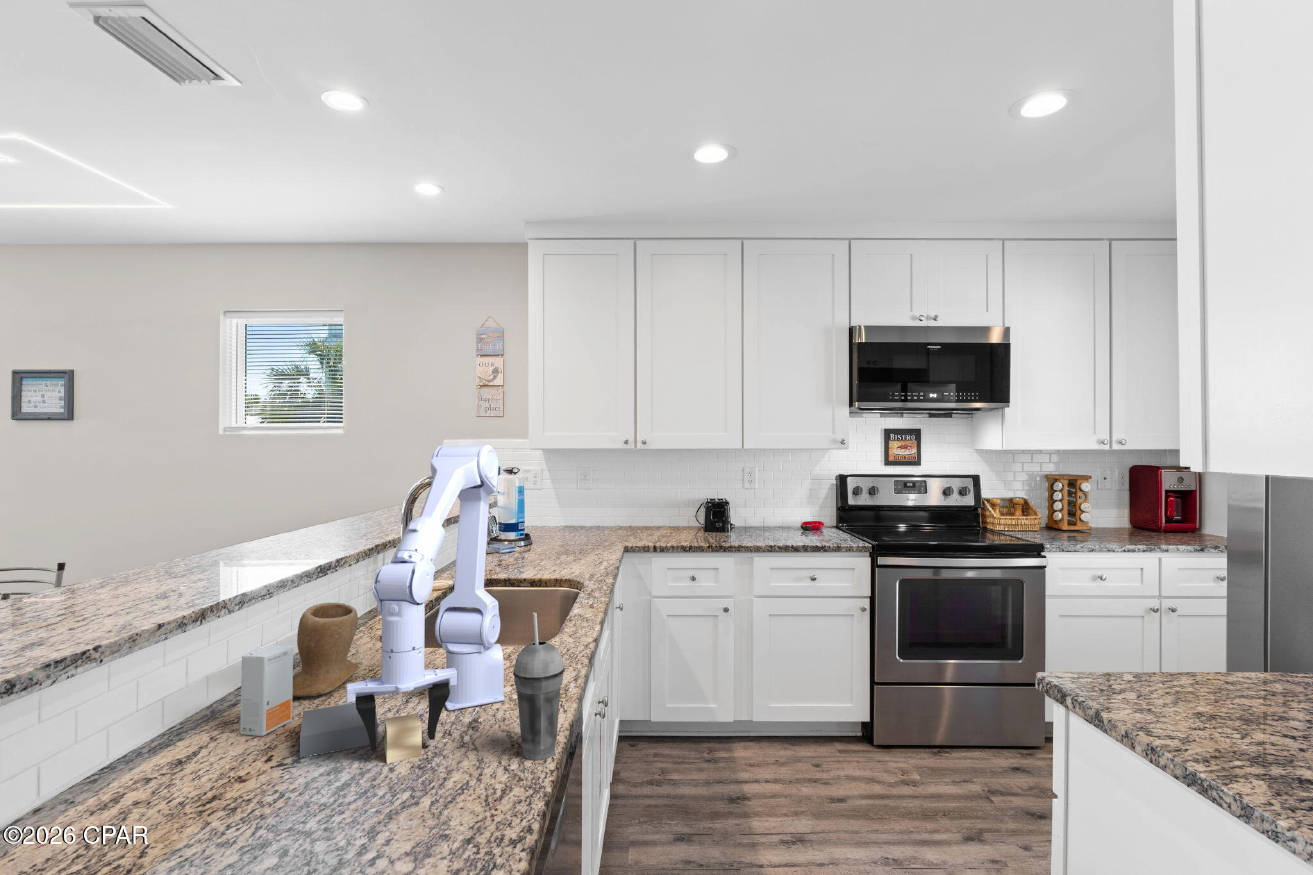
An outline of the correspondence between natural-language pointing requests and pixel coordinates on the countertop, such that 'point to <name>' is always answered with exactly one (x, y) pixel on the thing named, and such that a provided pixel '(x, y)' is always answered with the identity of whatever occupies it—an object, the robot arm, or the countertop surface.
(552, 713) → the beverage cup
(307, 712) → the base block
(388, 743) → the maple cube
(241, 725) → the skincare box
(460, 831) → the countertop surface
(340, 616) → the stone cup
